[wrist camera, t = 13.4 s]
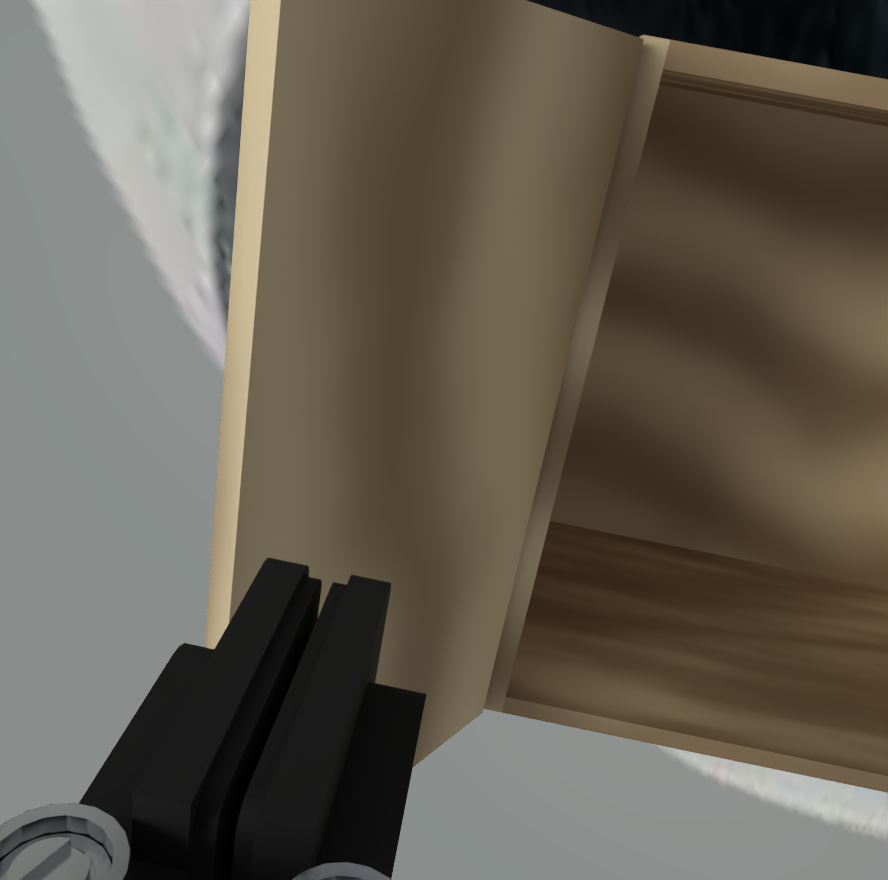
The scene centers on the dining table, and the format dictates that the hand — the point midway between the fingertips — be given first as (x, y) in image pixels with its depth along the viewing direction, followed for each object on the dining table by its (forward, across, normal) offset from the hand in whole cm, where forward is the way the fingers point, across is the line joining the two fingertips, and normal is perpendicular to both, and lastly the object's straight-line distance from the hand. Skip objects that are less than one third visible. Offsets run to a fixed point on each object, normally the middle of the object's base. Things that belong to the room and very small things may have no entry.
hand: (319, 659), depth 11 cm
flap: (+7, -1, +1) cm, 7 cm away
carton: (+25, -14, +1) cm, 28 cm away
